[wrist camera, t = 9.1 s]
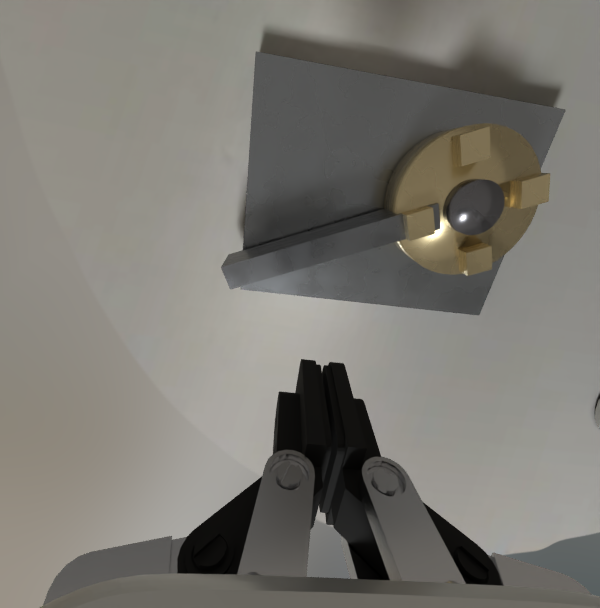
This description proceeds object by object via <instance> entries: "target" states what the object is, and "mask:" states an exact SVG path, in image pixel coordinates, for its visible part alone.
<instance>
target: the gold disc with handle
mask: <svg viewBox="0 0 600 608" xmlns="http://www.w3.org/2000/svg"><path fill="white" fill-rule="evenodd" d="M549 185H550V173H541V170H540V165H539V161H538V158H537V156H536V154H535V152H534V150H533V148H532V147H531V145H530V144H529V142H528V141H527V140H526V139H525V138H524V137H523V136H522V135H520V134H519V133H517V132H516V131H514V130H513V129H510V128H508V127H506V126H502V125H498V124H489V123H483V124H474V125H469V126H464V127H459V128H454V129H449V130H445V131H441V132H439V133H436V134H433V135H431V136H429V137H428V138H426V139H424V140H422V141H421V142H420V143H418V144H417V145H416V146H414V147H413V148H412V149H411V150H410V151H409V152H408V153H407V154H406V155H405V156H404V157H403V159H402V160H401V161H400V163H399V164H398V166H397V167H396V169H395V170H394V172H393V174H392V176H391V178H390V181H389V183H388V186H387V190H386V193H385V199H384V209H381V210H378V211H374V212H371V213H368V214H364V215H361V216H358V217H354V218H351V219H347V220H344V221H341V222H337V223H334V224H330V225H327V226H324V227H320V228H317V229H314V230H310V231H307V232H303V233H300V234H297V235H293V236H290V237H286V238H283V239H280V240H276V241H273V242H270V243H266V244H263V245H259V246H256V247H253V248H249V249H246V250H242V251H239V252H236V253H232V254H229V255H228V257H227V258H226V260H225V262H224V263H223V265H222V267H221V268H222V271H223V273H224V275H225V278H226V280H227V283H228V285H229V288H230V289H233V288H237V287H240V286H244V285H247V284H251V283H254V282H258V281H261V280H265V279H268V278H272V277H275V276H279V275H282V274H286V273H289V272H293V271H296V270H300V269H303V268H307V267H310V266H314V265H317V264H321V263H324V262H328V261H331V260H335V259H338V258H342V257H345V256H349V255H352V254H356V253H359V252H362V251H366V250H369V249H373V248H376V247H380V246H383V245H387V244H390V243H395V245H396V246H397V247H398V248H399V249H400V250H401V251H402V252H403V253H405V254H406V255H407V256H409V257H410V258H411V259H413V260H414V261H415V262H417V263H418V264H420V265H421V266H423V267H424V268H426V269H428V270H430V271H433V272H437V273H441V274H451V275H456V274H465V275H467V276H470V275H473V274H477V273H481V272H484V271H488V270H491V269H492V263H493V262H495V261H496V260H498V259H499V258H501V257H502V256H503V255H505V254H506V253H507V252H508V251H509V250H510V249H511V248H512V247H513V246H514V245H515V244H516V243H517V242H518V241H519V240H520V238H521V237H522V236H523V234H524V233H525V231H526V230H527V228H528V226H529V225H530V223H531V221H532V219H533V217H534V215H535V212H536V209H537V206H538V204H541V203H545V202H548V201H549Z"/></svg>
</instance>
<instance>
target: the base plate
mask: <svg viewBox="0 0 600 608" xmlns="http://www.w3.org/2000/svg"><path fill="white" fill-rule="evenodd" d="M564 112H565V109H559V108H554V107H549V106H543V105H538V104H533V103H528V102H522V101H517V100H512V99H506V98H501V97H496V96H490V95H485V94H480V93H474V92H469V91H464V90H458V89H453V88H448V87H442V86H437V85H432V84H426V83H421V82H416V81H411V80H405V79H400V78H395V77H389V76H384V75H379V74H373V73H368V72H363V71H357V70H352V69H347V68H341V67H336V66H331V65H325V64H320V63H315V62H310V61H304V60H299V59H294V58H288V57H283V56H278V55H272V54H267V53H262V52H256V56H255V72H254V87H253V103H252V118H251V134H250V150H249V165H248V181H247V196H246V212H245V227H244V243H243V250H246V249H249V248H253V247H256V246H259V245H263V244H266V243H270V242H273V241H276V240H280V239H283V238H286V237H290V236H293V235H297V234H300V233H303V232H307V231H310V230H314V229H317V228H320V227H324V226H327V225H330V224H334V223H337V222H341V221H344V220H347V219H351V218H354V217H358V216H361V215H364V214H368V213H371V212H374V211H378V210H381V209H384V199H385V193H386V190H387V186H388V183H389V181H390V178H391V176H392V174H393V172H394V170H395V169H396V167H397V166H398V164H399V163H400V161H401V160H402V159H403V157H404V156H405V155H406V154H407V153H408V152H409V151H410V150H411V149H412V148H413V147H414V146H416V145H417V144H418V143H420V142H421V141H422V140H424V139H426V138H428V137H429V136H431V135H433V134H436V133H439V132H441V131H445V130H449V129H454V128H459V127H464V126H469V125H474V124H483V123H489V124H498V125H502V126H506V127H508V128H510V129H513V130H514V131H516V132H517V133H519V134H520V135H522V136H523V137H524V138H525V139H526V140H527V141H528V142H529V144H530V145H531V147H532V148H533V150H534V152H535V154H536V156H537V158H538V161H539V165H540V169H541V167H542V165H543V162H544V160H545V157H546V155H547V153H548V150H549V148H550V146H551V143H552V141H553V138H554V136H555V134H556V131H557V129H558V127H559V124H560V122H561V119H562V117H563V115H564ZM503 257H504V255H503V256H502V257H501V258H499V259H498V260H496V261H495V262H493V263H492V269H491V270H488V271H484V272H481V273H477V274H473V275H470V276H467V275H465V274H456V275H451V274H441V273H437V272H433V271H430V270H428V269H426V268H424V267H423V266H421V265H420V264H418V263H417V262H415V261H414V260H413V259H411V258H410V257H409V256H407V255H406V254H405V253H403V252H402V251H401V250H400V249H399V248H398V247H397V246H396V245H395V243H390V244H387V245H383V246H380V247H376V248H373V249H369V250H366V251H362V252H359V253H356V254H352V255H349V256H345V257H342V258H338V259H335V260H331V261H328V262H324V263H321V264H317V265H314V266H310V267H307V268H303V269H300V270H296V271H293V272H289V273H286V274H282V275H279V276H275V277H272V278H268V279H265V280H261V281H258V282H254V283H251V284H247V285H244V286H241V289H242V290H252V291H261V292H270V293H279V294H288V295H297V296H306V297H316V298H325V299H334V300H343V301H352V302H361V303H371V304H380V305H389V306H398V307H407V308H416V309H425V310H435V311H444V312H453V313H462V314H471V315H479V314H480V312H481V309H482V307H483V305H484V302H485V300H486V298H487V295H488V293H489V290H490V288H491V286H492V283H493V281H494V279H495V276H496V274H497V271H498V269H499V267H500V264H501V262H502V260H503Z"/></svg>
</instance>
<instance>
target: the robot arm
mask: <svg viewBox="0 0 600 608" xmlns="http://www.w3.org/2000/svg"><path fill="white" fill-rule="evenodd" d="M595 420H596V423H597V426H598V427H599V429H600V399H599V401H598V403H597V406H596V410H595ZM318 506H319V508H320V512H322V513H325V514H326V524H327V525H334V528H335V529H336V530H337V532H339V534H341V543H342V549H343V553H344V556H345V560H346V564H347V567H348V572H349V575H350V579H341V578H319V577H318V578H316V577H306V576H307V564H308V551H309V539H310V530H311V528H312V527H313V525H314V521H315V517H316V514H317V510H318ZM40 608H600V597H598V596H595V595H592V594H590V592H589V591H588V590H587V589H586V588H585V587H584V586H582V585H581V584H580V583H578V582H577V581H576V580H574V579H573V578H571V577H568V576H566V575H564V574H562V573H558V572H555V571H552V570H549V569H545V568H542V567H539V566H535V565H532V564H529V563H525V562H522V561H519V560H516V559H513V558H509V557H506V556H503V555H500V554H496V553H492V555H491V556H489V555H487V554H486V553H485V552H484V551H483V550H482V549H481V548H480V547H479V546H478V545H477V544H476V543H474V542H473V541H472V540H470V539H469V538H468V537H467V536H465V535H464V534H463V533H462V532H460V531H459V530H458V529H456V528H455V527H454V526H453V525H451V524H450V523H449V522H447V521H446V520H445V519H444V518H442V517H441V516H440V515H439V514H437V513H436V512H435V511H433V510H432V509H431V508H430V507H428V506H427V505H426V504H425V503H423V502H422V500H421V498H420V496H419V495H418V493H417V491H416V489H415V487H414V485H413V483H412V481H411V480H410V478H409V476H408V474H407V473H406V472H405V470H404V469H403V468H402V467H401V466H400V465H399V464H397V463H396V462H394V461H393V460H391V459H388V458H385V457H381V455H380V452H379V448H378V445H377V442H376V439H375V436H374V432H373V429H372V426H371V423H370V420H369V416H368V413H367V410H366V407H365V404H364V401H363V400H362V399H354V398H353V394H352V391H351V387H350V383H349V380H348V376H347V372H346V369H345V365H344V364H343V363H333V362H330V363H329V365H328V366H326V365H324V367H323V371H321V365H316V361H313V360H304V359H301V363H300V368H299V374H298V380H297V386H296V392H295V393H288V392H279V395H278V401H277V409H276V418H275V429H274V445H273V455H272V456H271V457H270V458H269V459H268V461H267V463H266V465H265V468H264V472H263V476H262V477H261V478H259V479H258V480H257V481H256V482H254V483H253V484H252V485H251V486H249V487H248V488H247V489H245V490H244V491H243V492H242V493H240V494H239V495H238V496H236V497H235V498H234V499H233V500H232V501H230V502H229V503H228V504H226V505H225V506H224V507H223V508H221V509H220V510H219V511H218V512H216V513H215V514H214V515H212V516H211V517H210V518H208V519H207V520H206V521H205V522H204V523H202V524H201V525H200V526H199V527H197V528H196V529H195V530H193V531H192V532H191V534H189V536H187V537H184V538H179V539H175V540H172V536H169V537H164V538H159V539H154V540H149V541H144V542H139V543H134V544H128V545H123V546H118V547H113V548H108V549H103V550H98V551H93V552H89V553H87V554H84V555H81V556H79V557H77V558H76V559H74V560H73V561H71V562H70V563H69V564H67V565H66V566H65V567H64V568H63V569H62V570H61V572H60V573H59V574H58V575H57V576H56V578H55V579H54V581H53V583H52V585H51V587H50V589H49V591H48V593H47V596H46V599H45V601H44V604H43V606H42V607H40Z"/></svg>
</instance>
